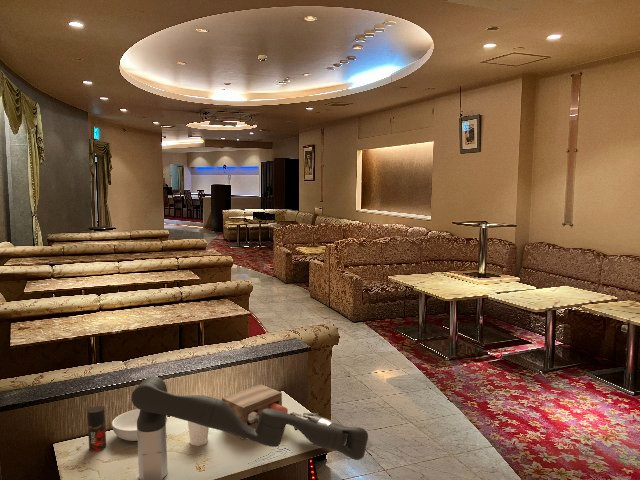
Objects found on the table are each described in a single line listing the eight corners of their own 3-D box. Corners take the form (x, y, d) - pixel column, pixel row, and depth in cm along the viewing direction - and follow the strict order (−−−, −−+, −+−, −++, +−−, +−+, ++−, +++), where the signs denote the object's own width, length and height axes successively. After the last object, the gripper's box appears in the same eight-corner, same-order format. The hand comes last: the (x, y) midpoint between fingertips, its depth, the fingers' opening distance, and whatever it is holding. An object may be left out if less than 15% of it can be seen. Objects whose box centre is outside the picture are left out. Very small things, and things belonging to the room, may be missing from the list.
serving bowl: (174, 422, 206) (174, 407, 205) (157, 448, 185) (156, 430, 184) (125, 422, 206) (125, 407, 206) (102, 448, 185) (102, 430, 185)
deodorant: (87, 452, 182) (85, 413, 181) (90, 444, 188) (88, 407, 186) (105, 450, 183) (103, 411, 182) (107, 442, 189) (105, 405, 188)
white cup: (204, 447, 185) (203, 422, 184) (184, 445, 186) (184, 420, 185) (212, 437, 192) (212, 413, 192) (194, 435, 194) (193, 411, 193)
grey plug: (258, 421, 194) (258, 411, 194) (250, 425, 191) (249, 414, 190) (243, 414, 201) (242, 404, 200) (234, 417, 198) (234, 407, 197)
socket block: (282, 422, 205) (281, 392, 204) (244, 439, 190) (243, 407, 189) (260, 412, 214) (260, 384, 213) (222, 428, 200) (221, 397, 199)
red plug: (287, 416, 198) (287, 405, 198) (279, 420, 195) (279, 409, 195) (271, 409, 205) (271, 399, 205) (263, 412, 202) (263, 402, 202)
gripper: (334, 413, 187) (303, 400, 199) (309, 424, 177) (278, 411, 190) (334, 432, 187) (303, 418, 200) (310, 444, 178) (278, 429, 190)
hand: (291, 415), depth 195 cm, fingers closed
